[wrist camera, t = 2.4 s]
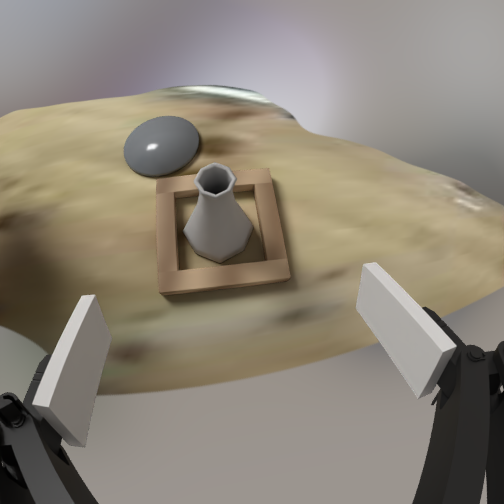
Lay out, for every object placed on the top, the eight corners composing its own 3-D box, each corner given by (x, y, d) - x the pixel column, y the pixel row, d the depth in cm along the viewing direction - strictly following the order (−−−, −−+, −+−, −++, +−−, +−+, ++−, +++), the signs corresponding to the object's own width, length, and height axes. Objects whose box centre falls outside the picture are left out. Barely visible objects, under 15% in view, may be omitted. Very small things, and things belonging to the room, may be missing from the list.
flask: (265, 227, 32) (280, 176, 23) (221, 276, 30) (218, 240, 21) (216, 189, 33) (213, 131, 24) (171, 233, 31) (151, 184, 22)
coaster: (110, 164, 33) (109, 161, 33) (150, 112, 37) (150, 110, 36) (174, 186, 33) (174, 184, 32) (212, 129, 36) (212, 126, 36)
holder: (162, 295, 29) (159, 292, 27) (159, 186, 33) (156, 179, 31) (287, 281, 30) (290, 277, 29) (267, 175, 34) (269, 168, 33)
